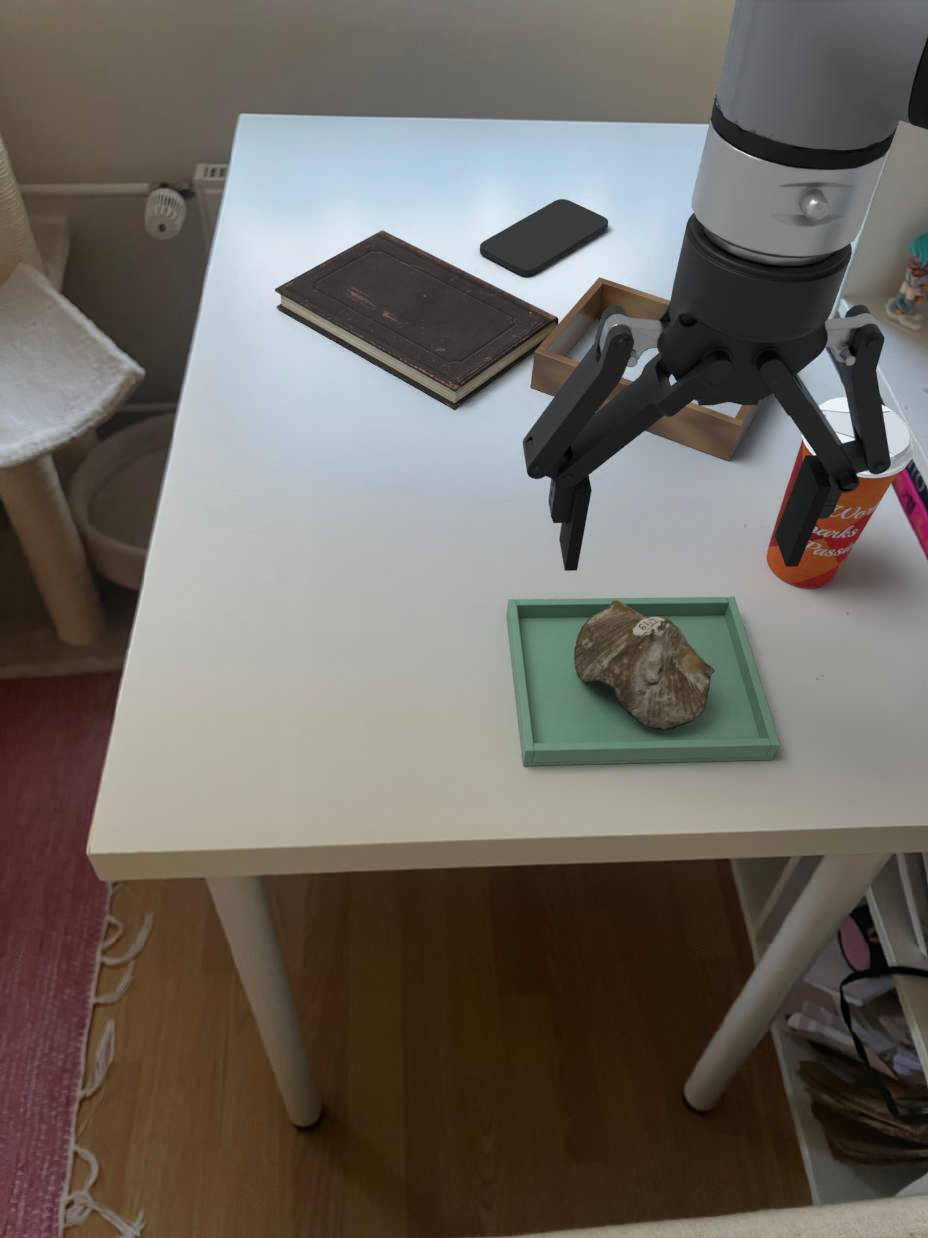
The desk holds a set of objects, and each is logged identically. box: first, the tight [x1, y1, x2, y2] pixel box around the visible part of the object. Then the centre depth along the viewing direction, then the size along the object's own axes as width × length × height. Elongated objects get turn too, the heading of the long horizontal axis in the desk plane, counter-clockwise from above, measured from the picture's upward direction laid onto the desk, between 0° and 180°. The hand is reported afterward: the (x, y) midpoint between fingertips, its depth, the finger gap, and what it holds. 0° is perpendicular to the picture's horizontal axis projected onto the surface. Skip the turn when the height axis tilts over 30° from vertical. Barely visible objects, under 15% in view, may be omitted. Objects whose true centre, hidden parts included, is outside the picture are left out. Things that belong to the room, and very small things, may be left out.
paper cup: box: [766, 396, 915, 589], centre depth 75 cm, size 8×8×14 cm
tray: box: [505, 596, 781, 767], centre depth 71 cm, size 17×13×2 cm
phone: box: [479, 198, 609, 277], centre depth 110 cm, size 7×1×15 cm
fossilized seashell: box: [574, 600, 715, 730], centre depth 70 cm, size 8×7×10 cm
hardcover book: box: [274, 229, 560, 410], centre depth 99 cm, size 16×23×2 cm
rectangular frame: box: [529, 276, 765, 462], centre depth 94 cm, size 20×15×4 cm
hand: (677, 553), depth 62 cm, fingers open, 13 cm apart
